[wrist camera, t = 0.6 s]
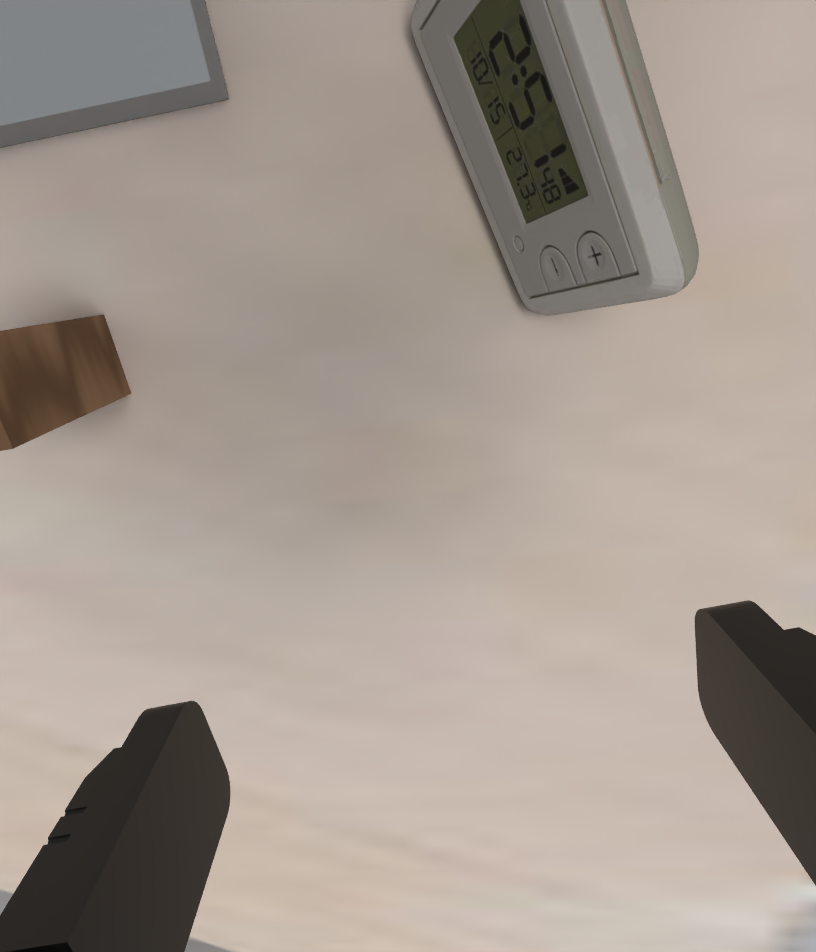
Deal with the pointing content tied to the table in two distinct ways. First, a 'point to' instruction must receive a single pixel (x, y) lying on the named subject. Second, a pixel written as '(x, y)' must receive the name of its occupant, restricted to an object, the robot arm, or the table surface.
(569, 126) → the digital clock
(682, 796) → the table surface
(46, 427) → the walnut block
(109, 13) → the grey board
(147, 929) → the robot arm
